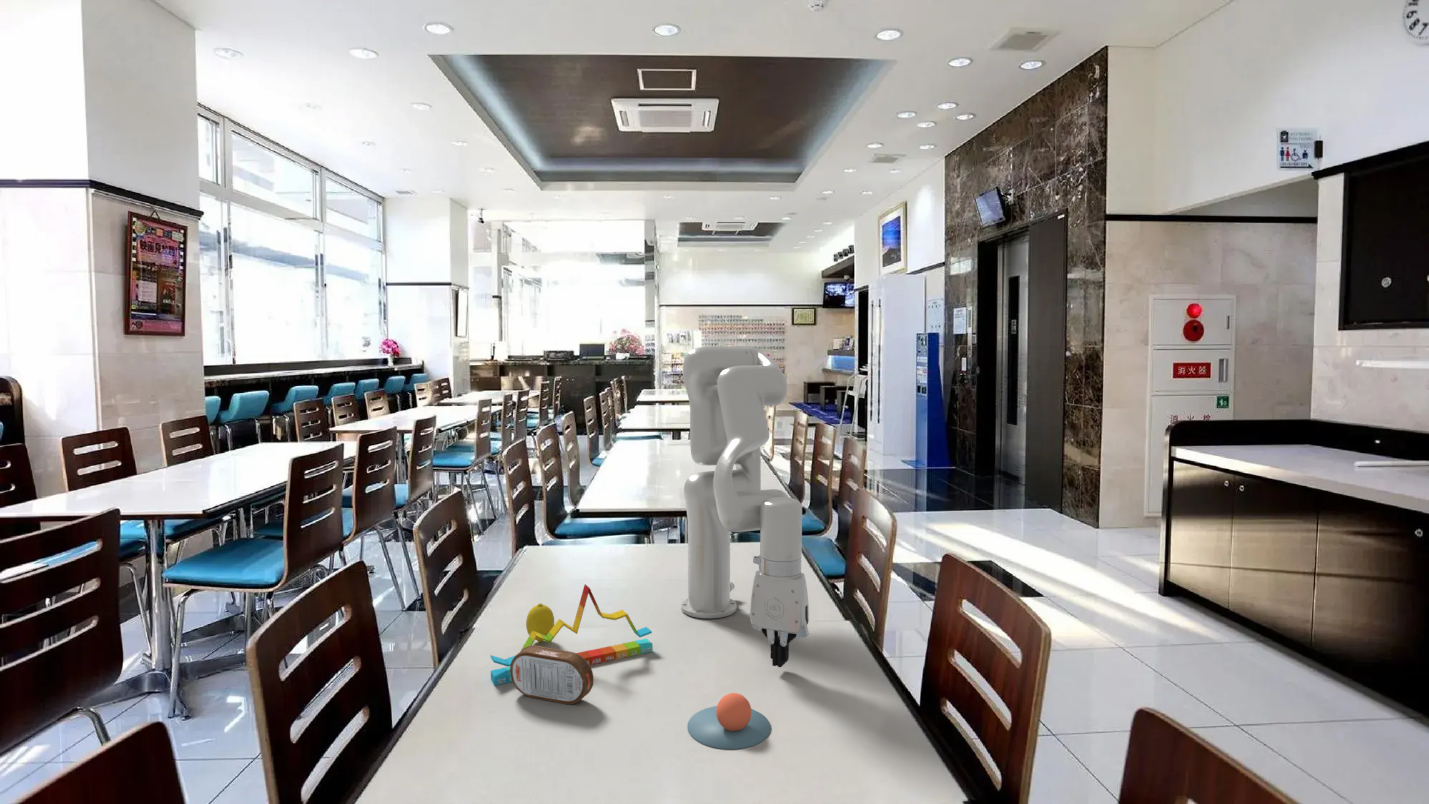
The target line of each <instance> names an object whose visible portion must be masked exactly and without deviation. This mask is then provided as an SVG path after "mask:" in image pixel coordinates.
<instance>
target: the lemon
mask: <svg viewBox="0 0 1429 804" xmlns="http://www.w3.org/2000/svg"><path fill="white" fill-rule="evenodd" d="M554 625H555V616H554V612H553V610H552V609H551V608H550V607H549V606H547V605H546V604H543V603H541V602H540V603H538V604H536V605H534V606H533V607H532V608H531V609H530V610H529V611H528V613H527V616H526V622H525V626H526V627H525V628H526V631H527V634H528V635H529V636H530V634H531V632H532V631H535V632H537V633H540V634H542V635H545V636H546V635H547V634H548V633H549V631H550V630H551V629H552V628H553V626H554ZM529 636H528V637H529ZM535 641H537V642H538V643H543V642H544V640H541V639H539V638H536V639H535Z"/></svg>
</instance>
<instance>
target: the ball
mask: <svg viewBox="0 0 1429 804" xmlns="http://www.w3.org/2000/svg"><path fill="white" fill-rule="evenodd" d="M716 706H717V709H716V715H717V719H718V721H719V723H720V724H721V726H722V727H724V728H725V729H727V730H729V731H739V730H741V729H743V728H744V727H746V726H747V724H748V723H749V721H750V719H751V709H752V707H751V704H750V702H749V700H748V699H747V698H746V697H745V696H744V695H742V694H740V693H737V692H731V693H730V692H729V693H728V694H725V695H724V696H722V697H721V698H720V700H719V701H718V702H717V705H716Z"/></svg>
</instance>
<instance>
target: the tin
mask: <svg viewBox="0 0 1429 804" xmlns="http://www.w3.org/2000/svg"><path fill="white" fill-rule="evenodd" d="M522 648H523V647H522ZM522 648H521V650H520V651H519V652H518V653H517V654H515V655H516V656H515V655H514V656H515V657H514V658H513V660H512V661H511V665H510V666H509V667H510V674H511V679H512V682H511V683H512V684H513V686H514V687H515V688H516V690H517V691H518V692H520V693H521V694H522V695H524V696H526V697H529V698H534V699H539V700H544V701H547V702H548V701H550V702H553V703H557V704H558V703H559V704H564V705H574V704H577V703H578V702H580V701H581V700H582V699H584V697H586V696H587V695H589V694H590V692H591V691H592V689H593V687H594V680H595V679H594V673H593V670H592V667H591V665H589V664H588V662H587V661H586V660H585V659H584V658H583V657H582V656H580V655H579V654H577V653H578V652H574V651H568V650H562V649H557V648H550V647H545V646H540V645H535V644H534V645H533V644H532V646H527V647H525V648H523V649H522Z"/></svg>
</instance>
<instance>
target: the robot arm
mask: <svg viewBox="0 0 1429 804" xmlns="http://www.w3.org/2000/svg"><path fill="white" fill-rule="evenodd" d="M682 379H683V383H684V386H685V390H686V394H687V398H688V402H689V433H690V434H689V436H690V438H689V445H690V455H691V458H692V460H693V462H694V463H695V464H697V465H700V466H715V469H714V470H712V471H711V470H710V471H709V470H707V471H701V472H696V473H694V474H692V475H690V476H689V477H687V479H685V480H686V481H685V482H684V486H683V494H684V495H683V496H684V502H685V508H686V516H687V535H688V536H687V549H688V550H687V556H688V557H687V598H686V599H684V600H683V601H682V602H681V605H680V606H681V607H680V608H681V611H682V613H684V614H686V615H687V616H690V617H693V618H698V619H707V620H708V619H719V618H720V619H721V618H726V617H729V616H731V615H733V614H734V613H736V611H737V602H735V600H733V599H732V598H731V592H732V591H733V590H734V589H735V584H734V583H733V582H731V534H730V532H732V533H744V532H751V531H760V532H759V533H760V536H759V537H760V539H759V541H760V542H759V543H760V544H759V546H760V547H759V548H760V549H759V555H757V556H755V555H754V556H753V558H752V562H753V564H756V565H758V570H756V571H755V573H754V578H753V582H752V588H751V589H752V590H751V596H750V597H751V598H750V608H749V609H750V610H749V611H750V612H749V618H750V619H749V620H750V621H749V622H750V623H751V627H752V629H754V630H757V631H759V632H762V634H763V635H764V637H765V638H767V642H768V644H770V659H771V661H772V662H771V664H772V666H773V667H778V668H783V666H784V665H785V664H786V663H787V662H788V661H789V657H790V656H789V655H790V653H789V649H790V643H791V642H792V641H793V640H795V639H804V638H805V639H806V638H807V637H808V635H810V633H809V628H808V624H809V620H810V607H809V606H810V605H809V593H808V586H807V582H806V576H805V573H803V572H802V554H803V553H802V547H803V546H802V543H803V542H802V541H803V540H802V539H803V538H802V536H803V534H802V533H803V507H802V504H801V502H800V501H799V500H797V499H795V498H792V497H789V495H788V494H787V493H786V492H785V491H783V490H781V489H777V488H774V489H772V488H771V489H761V482H762V481H761V480H762V479H761V477H762V476H761V475H762V474H761V473H762V471H761V464H762V462H761V456H762V455H761V447H763V445H766V443H767V442H768V441H769V439H770V431H769V426H768V422H767V415H766V412H765V407H772V406H778V405H781V404H782V403H783V402H784V401H785V399H786V398H787V392H788V385H787V380H786V376H785V375H784V372H783V371H782V369H781V368H780V366H779V365H778V364H777V363H776V362H775V361H774V359H771V357H770V356H768V355H767V354H766V353H765V352H764V351H762V349H759V347H753V346H726V345H725V346H722V345H721V346H719V345H718V346H715V345H714V346H713V345H712V346H699V347H696V348H693V349H691V350H689V351H688V352H687V353H686V355H685V357H684V359H683V364H682ZM734 466H735V469H733V468H734ZM780 633H781V635H780Z"/></svg>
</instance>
